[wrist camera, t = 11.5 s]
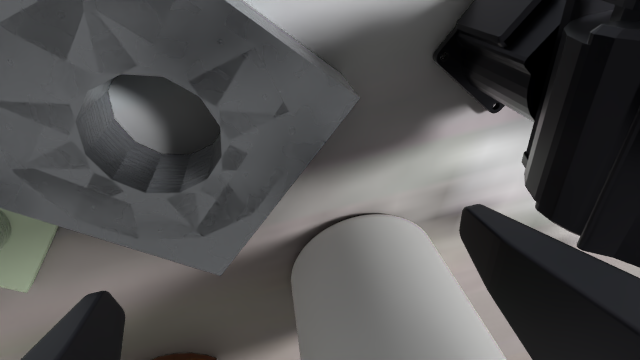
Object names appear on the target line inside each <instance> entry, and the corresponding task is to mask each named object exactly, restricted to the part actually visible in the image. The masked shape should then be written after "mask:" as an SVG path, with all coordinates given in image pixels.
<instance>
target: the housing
mask: <svg viewBox="0 0 640 360" xmlns="http://www.w3.org/2000/svg"><path fill="white" fill-rule="evenodd" d="M120 74H127V75H143V76H158V77H164V78H166V79H168V80H170V81H172V82H173V83H175V84H177V85H179V86H181V87H182V88H184V89H186V90H188V91H190V92H191V93H193V94H195V95H197V96H199V97H200V98H201V100H202V101H203V103H204V104H205V105H206V107H207V108H208V110H209V111H210V113H211V114H212V116H213V117H214V118H215V120H216V121H217V123H218V124H219V126H220V132H221V133H220V134H219V136H218V137H217V139H216V141H215V142H214V144H212V145H210V146H208V147H206V148H204V149H202V150H199V151H197V152H195V153H193V154H191V155H177V154H161V153H159V152H156V151H154V150H152V149H150V148H148V147H145V146H143V145H141V144H139V143H136V142H135V141H134V140H133V139H132V138H131V137H130V136H129V135H128V134H127V132H126V131H125V130H124V129H123V128H122V127H121V126H120V125H119V124H118V122H117V121H116V120H115V119H114V115H113V111H112V107H111V102H110V98H109V94H108V89H109V87H110V84H111V82H112V80H113V78H114V77H116V76H118V75H120ZM359 99H360V97H359V96H358V95H357V93H356V92H355V91H354V90H353V88H352V87H351V86H350V84H349V83H348V82H347V81H346V79H345V78H344V77H343V75H342V74H341V73H339V72H338V71H337V70H335V69H334V68H333V67H331V66H330V65H329V64H327V63H326V62H325V61H323V60H322V59H321V58H319V57H318V56H317V55H315V54H314V53H313V52H311V51H310V50H309V49H307V48H306V47H305V46H303V45H302V44H300V43H299V42H298V41H296V40H295V39H294V38H292V37H291V36H290V35H288V34H287V33H286V32H284V31H283V30H282V29H280V28H279V27H278V26H276V25H275V24H274V23H272V22H271V21H270V20H268V19H267V18H266V17H264V16H263V15H261V14H260V13H259V12H257V11H256V10H255V9H253V8H252V7H251V6H249V5H248V4H247V3H245V2H244V1H243V0H0V208H1V209H5V210H8V211H11V212H14V213H18V214H21V215H24V216H27V217H31V218H34V219H37V220H40V221H44V222H47V223H50V224H53V225H57V226H60V227H63V228H66V229H70V230H73V231H76V232H79V233H83V234H86V235H89V236H92V237H96V238H99V239H102V240H105V241H109V242H112V243H115V244H118V245H122V246H125V247H128V248H131V249H135V250H138V251H141V252H144V253H148V254H151V255H154V256H157V257H161V258H164V259H167V260H170V261H174V262H177V263H180V264H183V265H187V266H190V267H193V268H196V269H200V270H203V271H206V272H209V273H213V274H216V275H219V276H221V275H222V274H223V272H224V271H225V270H226V268H227V267H228V266H229V265H230V263H231V262H232V261H233V260H234V258H235V257H236V256H237V254H238V253H239V252H240V251H241V249H242V248H243V247H244V246H245V244H246V243H247V242H248V240H249V239H250V238H251V237H252V235H253V234H254V233H255V232H256V230H257V229H258V228H259V226H260V225H261V224H262V223H263V221H264V220H265V219H266V218H267V216H268V215H269V214H270V212H271V211H272V210H273V209H274V207H275V206H276V205H277V203H278V202H279V201H280V200H281V198H282V197H283V196H284V195H285V193H286V192H287V191H288V189H289V188H290V187H291V186H292V184H293V183H294V182H295V181H296V179H297V178H298V177H299V175H300V174H301V173H302V172H303V170H304V169H305V168H306V167H307V165H308V164H309V163H310V161H311V160H312V159H313V158H314V156H315V155H316V154H317V153H318V151H319V150H320V149H321V147H322V146H323V145H324V144H325V142H326V141H327V140H328V139H329V137H330V136H331V135H332V133H333V132H334V131H335V130H336V128H337V127H338V126H339V125H340V123H341V122H342V121H343V119H344V118H345V117H346V116H347V114H348V113H349V112H350V111H351V109H352V108H353V107H354V105H355V104H356V103H357V102H358V100H359Z"/></svg>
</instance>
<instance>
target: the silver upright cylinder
mask: <svg viewBox="0 0 640 360" xmlns="http://www.w3.org/2000/svg"><path fill="white" fill-rule="evenodd" d="M10 236H11V224H10V222H9V220H8V218H7V217H6V215H5V214H4V213H3V212H2V211H1V210H0V250H1V249H2V247H3V246H4V245H5V244H6V243H7V241H8V240H9V238H10Z"/></svg>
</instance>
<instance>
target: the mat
mask: <svg viewBox="0 0 640 360" xmlns="http://www.w3.org/2000/svg"><path fill="white" fill-rule="evenodd" d="M0 210H1V211H2V212H3V213H4V214H5V215H6V217H7V218H8V220H9V222H10V224H11V236H10V238H9V240H8V241H7V243H6V244H5V245H4V246H3V247H2V249H1V250H0V287H2V288H6V289H11V290H15V291H20V292H25V293H27V292H28V290H29V289H30V287H31V286H32V284H33V282H34V280H35V278H36V276H37V274H38V271H39V269H40V267H41V265H42V263H43V260H44V258H45V256H46V254H47V251H48V249H49V247H50V245H51V243H52V240H53V238H54V236H55V234H56V232H57V229H58V227H59V226H57V225H53V224H50V223H47V222H44V221H40V220H37V219H34V218H31V217H27V216H24V215H21V214H18V213H14V212H11V211H8V210H5V209H1V208H0Z"/></svg>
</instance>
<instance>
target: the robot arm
mask: <svg viewBox="0 0 640 360" xmlns="http://www.w3.org/2000/svg"><path fill="white" fill-rule="evenodd" d="M444 52H445V57H444V58H443V59H440V57H441V55H442V54H443V53H444ZM433 59H434V61H435V63H436V64H438V65H439V66H440V67H441V68H442V69H443V70H444V71H445V72H446V73H447V74H448V75H449V76H451V77H452V78H453V79H454V80H455V81H456V82H457V83H458V84H459V85H460V86H461V87H462V88H464V89H465V90H466V91H467V92H468V93H469V94H470V95H471V96H472V97H473V98H474V99H475V100H477V101H478V102H479V103H480V104H481V105H482V106H483V107H484V108H485V109H486V110H488V111H489V112H491V113H497V112H499V111H500V110H501V109H502V108H503V107H504V106H507V107H509V108H511V109H512V110H514V111H516V112H517V113H519V114H521V115H523V116H524V117H526V118H528V119H529V120H531V121H533V122H534V125H533V129H532V132H531V136H530V140H529V144H528V148H527V151H525V152H524V154H523V158H522V163H523V165H524V167H525V173H524V175H525V186H526V188H527V189H528V191H529V192H530V194H531V196H532V197H533V199H534V200H535V201H536V205H535V208H536V209H537V211H539V212H540V213H541V214H543V215H544V216H545V217H546V218H548V219H549V220H550V221H552V222H553V223H555V224H557V225H558V226H560V227H562V228H564V229H566V230H568V231H569V232H571V233H574V234H576V235H579V236H580V238H579V241H578V243H577V247H578V248H579V249H581V250H583V251H587V252H591V253H596V254H600V255H604V256H609V257H613V258H616V259H618V260H621V261H624V262H626V263H629V264H632V265H634V266H637V267H640V0H475V1H474V2H473V3H472V4H471V6H470V7H469V8H468V9H467V10H466V12H465V13H464V14H463V15H462V16H461V18H460V19H459V20H458V21H457V24H456V27H455V28H454V29H453V30H452V31H451V33H450V34H449V35H448V36H447V37H446V39H445V40H444V41H443V42H442V43H441V45H440V46H439V47H438V48H437V49H436V51H435V52H434V55H433ZM495 103H496V105H495V106H494V107H493V105H494V104H495ZM459 231H460V236H461V239H462V241H463V243H464V245H465V247H466V249H467V251H468V253H469V255H470V257H471V259H472V261H473V263H474V265H475V267H476V269H477V271H478V273H479V275H480V277H481V279H482V281H483V282H484V284H485V286H486V288H487V290H488V291H489V293H490V295H491V296H492V298H493V300H494V301H495V303H496V304H497V306H498V307H499V309H500V310H501V312H502V313H503V315H504V316H505V318H506V320H507V321H508V323H509V324H510V326H511V327H512V329H513V330H514V332H515V333H516V335H517V336H518V338H519V340H520V341H521V343H522V344H523V346H524V347H525V349H526V350H527V352H528V353H529V355H530V356H531V358H532V360H640V278H638V277H636V276H634V275H632V274H630V273H627V272H625V271H623V270H621V269H619V268H617V267H615V266H612V265H610V264H608V263H606V262H604V261H602V260H599V259H597V258H595V257H593V256H591V255H589V254H587V253H584V252H582V251H580V250H578V249H576V248H574V247H572V246H569V245H567V244H565V243H563V242H561V241H559V240H557V239H554V238H552V237H550V236H548V235H546V234H544V233H542V232H539V231H537V230H535V229H533V228H531V227H529V226H527V225H524V224H522V223H520V222H518V221H516V220H514V219H511V218H509V217H507V216H505V215H503V214H501V213H499V212H496V211H494V210H492V209H490V208H488V207H486V206H484V205H481V204H476V205H472V206H467V207H465V208H464V209H463V210H462V216H461V222H460V229H459ZM124 324H125V313H124V310H123V309H122V307H121V306H120V305H119V304H118V303H117V301H116V300H115V299H114V298H113V297H112V295H111V294H110V293H109V292H107V291H100V292H95V293H91V294H88V295H86V296H85V297H84V298H82V299H81V300H80V301H79V302H78V303H77V304H76V305H75V306H74V307H73V308H72V309H71V310H70V311H69V312H68V313H67V314H66V315H65V316H64V317H63V318H62V319H61V320H60V321H59V322H58V323H57V324H56V325H55V326H54V327H53V328H52V329H51V330H50V331H49V332H48V333H47V334H46V335H45V336H44V337H43V338H42V339H41V340H40V341H39V342H38V343H37V344H36V345H35V346H34V347H33V348H32V349H31V350H30V351H29V352H28V353H27V354H26V355H25V356H24V357H23V358H22V359H21V360H120V357H121V349H122V341H123V332H124Z"/></svg>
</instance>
